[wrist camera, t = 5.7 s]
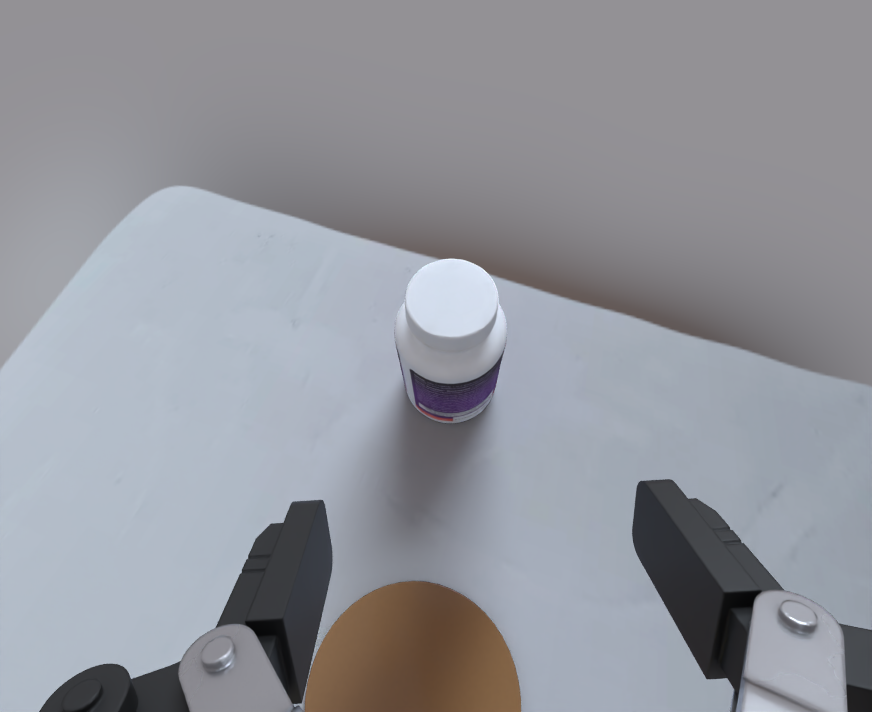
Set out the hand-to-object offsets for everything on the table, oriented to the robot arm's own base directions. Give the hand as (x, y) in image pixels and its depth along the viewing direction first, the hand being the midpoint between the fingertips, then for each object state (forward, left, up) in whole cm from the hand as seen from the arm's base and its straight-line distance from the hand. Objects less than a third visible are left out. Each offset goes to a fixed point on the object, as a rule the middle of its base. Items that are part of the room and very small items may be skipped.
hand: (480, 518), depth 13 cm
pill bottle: (+2, -9, -14) cm, 17 cm away
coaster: (+2, +7, -14) cm, 16 cm away
